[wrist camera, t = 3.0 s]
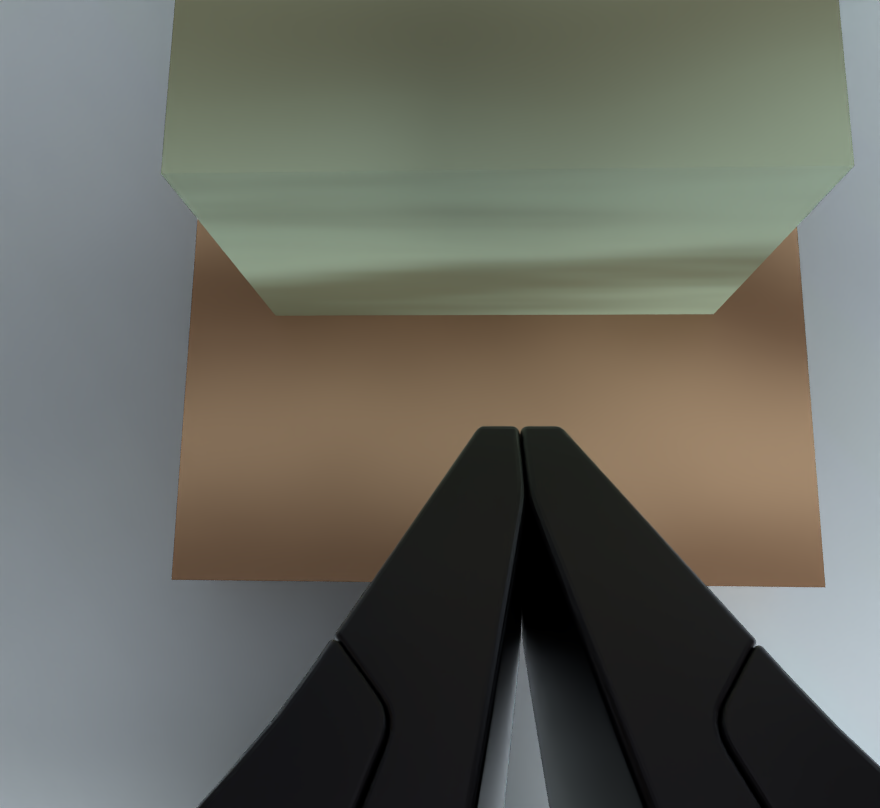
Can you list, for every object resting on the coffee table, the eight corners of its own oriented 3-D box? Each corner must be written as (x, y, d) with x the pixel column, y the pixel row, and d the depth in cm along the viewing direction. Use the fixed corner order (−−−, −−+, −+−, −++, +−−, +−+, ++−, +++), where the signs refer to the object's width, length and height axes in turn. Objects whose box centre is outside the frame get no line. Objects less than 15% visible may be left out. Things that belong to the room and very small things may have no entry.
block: (713, 314, 18) (854, 165, 12) (275, 315, 19) (160, 173, 12) (702, 112, 19) (825, -136, 13) (285, 118, 20) (185, -118, 13)
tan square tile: (781, 584, 20) (825, 587, 17) (208, 577, 20) (171, 579, 18) (750, 127, 22) (784, 73, 19) (236, 134, 23) (207, 82, 20)
